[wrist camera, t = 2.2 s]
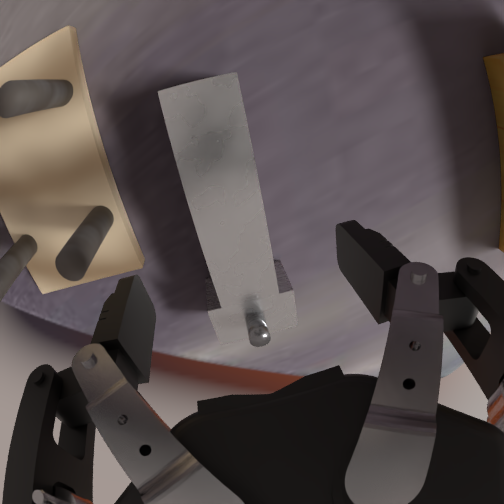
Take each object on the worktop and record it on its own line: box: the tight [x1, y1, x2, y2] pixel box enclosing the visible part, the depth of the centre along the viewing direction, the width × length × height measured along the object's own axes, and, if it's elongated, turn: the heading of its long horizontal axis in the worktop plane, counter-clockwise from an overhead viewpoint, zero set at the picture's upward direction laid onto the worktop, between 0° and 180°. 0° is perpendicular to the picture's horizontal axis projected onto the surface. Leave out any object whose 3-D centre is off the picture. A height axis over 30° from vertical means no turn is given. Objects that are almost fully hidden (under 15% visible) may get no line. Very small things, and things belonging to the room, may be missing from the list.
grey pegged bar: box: [158, 72, 298, 347], centre depth 18 cm, size 18×6×6 cm, turn 11°
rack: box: [0, 25, 145, 301], centre depth 13 cm, size 18×10×7 cm, turn 11°
